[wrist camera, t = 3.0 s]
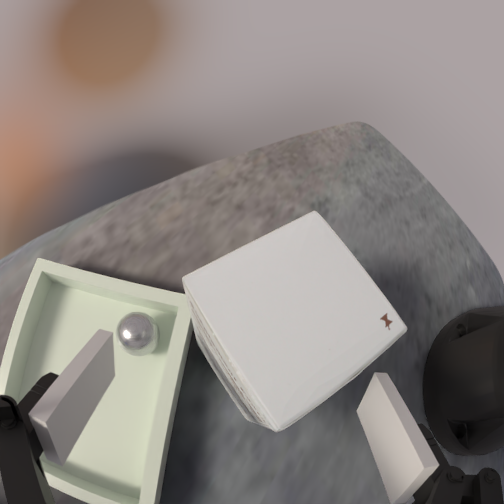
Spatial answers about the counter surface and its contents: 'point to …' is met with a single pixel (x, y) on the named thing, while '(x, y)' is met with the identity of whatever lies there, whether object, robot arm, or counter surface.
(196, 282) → the supplement box
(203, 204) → the counter surface
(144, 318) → the ball
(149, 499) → the tray
